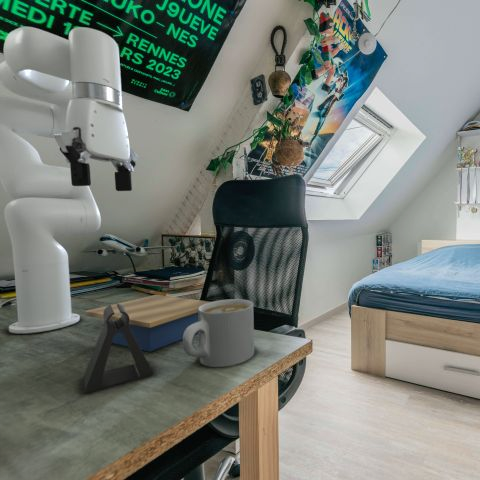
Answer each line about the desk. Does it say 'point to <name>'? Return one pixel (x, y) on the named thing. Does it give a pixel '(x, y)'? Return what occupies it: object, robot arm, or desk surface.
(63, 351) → the desk surface
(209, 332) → the coffee mug
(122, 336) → the blue box
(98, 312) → the oak board
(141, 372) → the phone stand
